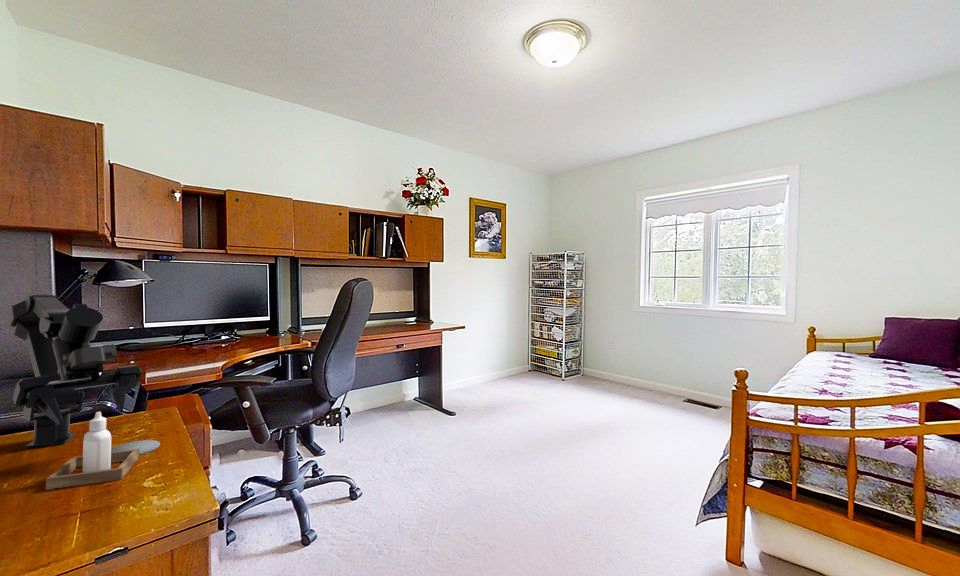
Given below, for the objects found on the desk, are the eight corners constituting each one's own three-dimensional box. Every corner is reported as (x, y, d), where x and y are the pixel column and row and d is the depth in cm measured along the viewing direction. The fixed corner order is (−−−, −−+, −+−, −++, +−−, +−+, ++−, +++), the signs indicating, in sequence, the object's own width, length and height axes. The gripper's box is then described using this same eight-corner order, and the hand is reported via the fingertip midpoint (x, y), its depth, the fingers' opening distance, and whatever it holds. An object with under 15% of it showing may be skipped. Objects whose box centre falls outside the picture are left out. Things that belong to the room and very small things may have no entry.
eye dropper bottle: (78, 481, 76) (80, 418, 76) (83, 470, 81) (85, 410, 81) (109, 475, 79) (111, 414, 79) (112, 465, 83) (114, 407, 83)
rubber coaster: (116, 445, 93) (116, 443, 93) (164, 439, 97) (164, 438, 97) (100, 460, 85) (100, 458, 85) (153, 453, 89) (153, 451, 89)
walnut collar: (73, 466, 82) (73, 456, 82) (138, 458, 87) (139, 448, 87) (45, 490, 73) (46, 479, 73) (121, 479, 77) (121, 468, 77)
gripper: (18, 336, 76) (34, 404, 71) (140, 329, 92) (160, 384, 87) (7, 373, 80) (20, 439, 75) (125, 360, 96) (144, 414, 91)
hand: (92, 417), depth 82 cm, fingers open, 9 cm apart
